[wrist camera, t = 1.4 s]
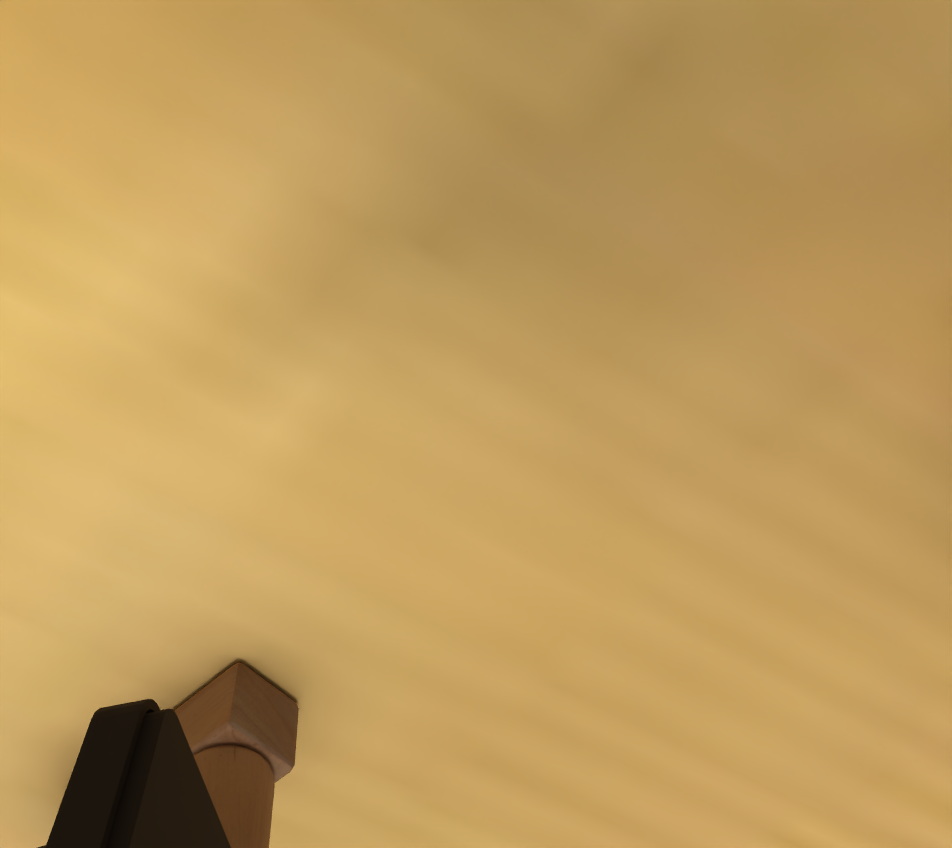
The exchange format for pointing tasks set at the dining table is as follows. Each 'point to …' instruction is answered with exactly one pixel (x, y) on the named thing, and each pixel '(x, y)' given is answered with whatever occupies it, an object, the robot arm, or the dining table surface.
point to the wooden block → (241, 749)
